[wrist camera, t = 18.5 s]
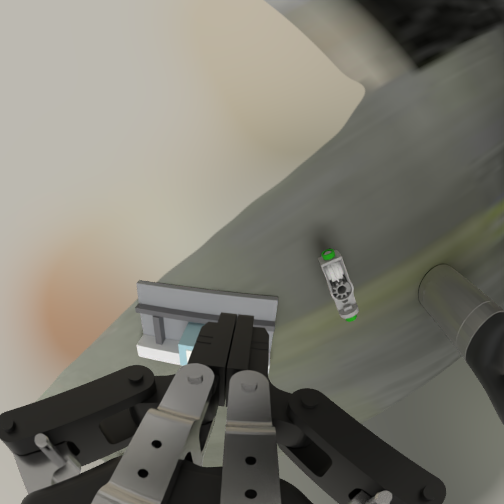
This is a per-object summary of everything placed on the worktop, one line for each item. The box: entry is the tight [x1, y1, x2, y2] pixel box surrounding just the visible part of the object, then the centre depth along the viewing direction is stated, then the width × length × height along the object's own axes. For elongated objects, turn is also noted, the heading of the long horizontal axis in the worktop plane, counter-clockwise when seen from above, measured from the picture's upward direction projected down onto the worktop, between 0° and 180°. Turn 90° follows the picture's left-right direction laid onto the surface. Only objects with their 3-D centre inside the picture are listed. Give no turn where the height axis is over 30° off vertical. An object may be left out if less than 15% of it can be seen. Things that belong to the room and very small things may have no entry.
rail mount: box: [135, 280, 278, 373], centre depth 45 cm, size 24×16×5 cm, turn 85°
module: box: [178, 322, 205, 365], centre depth 43 cm, size 5×4×7 cm
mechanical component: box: [318, 249, 359, 322], centre depth 37 cm, size 3×10×10 cm, turn 26°
